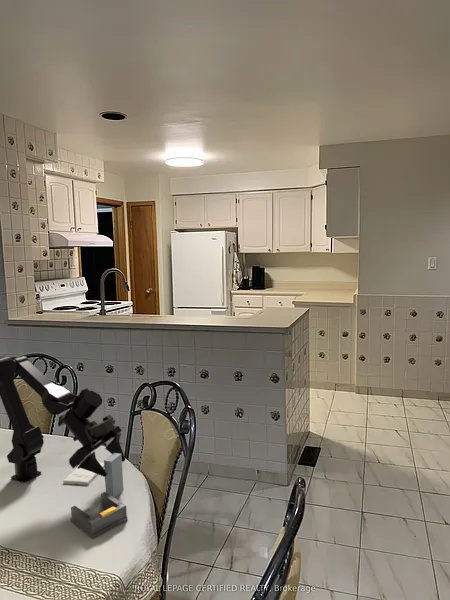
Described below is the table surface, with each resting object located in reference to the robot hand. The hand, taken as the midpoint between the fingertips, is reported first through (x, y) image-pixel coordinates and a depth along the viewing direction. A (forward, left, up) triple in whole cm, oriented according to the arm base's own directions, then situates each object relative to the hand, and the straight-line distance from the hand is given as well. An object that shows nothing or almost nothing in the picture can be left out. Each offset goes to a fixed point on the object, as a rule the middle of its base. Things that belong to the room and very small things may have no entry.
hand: (115, 468), depth 127 cm
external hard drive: (-17, +5, -9) cm, 20 cm away
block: (-1, 0, -8) cm, 8 cm away
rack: (+5, -12, -8) cm, 15 cm away
